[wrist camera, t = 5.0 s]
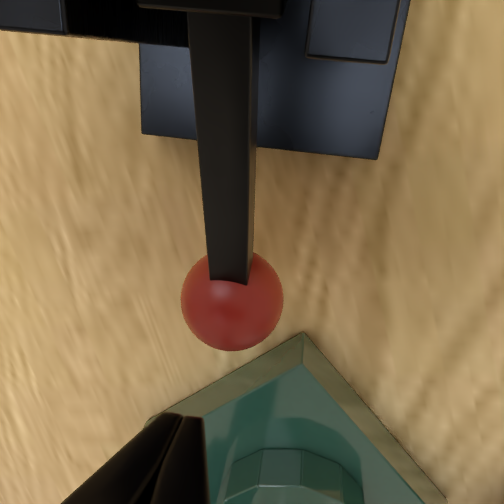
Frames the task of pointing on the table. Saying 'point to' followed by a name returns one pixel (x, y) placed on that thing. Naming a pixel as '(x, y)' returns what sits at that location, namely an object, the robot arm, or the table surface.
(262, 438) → the control block
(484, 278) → the table surface
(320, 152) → the bracket
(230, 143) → the lever
